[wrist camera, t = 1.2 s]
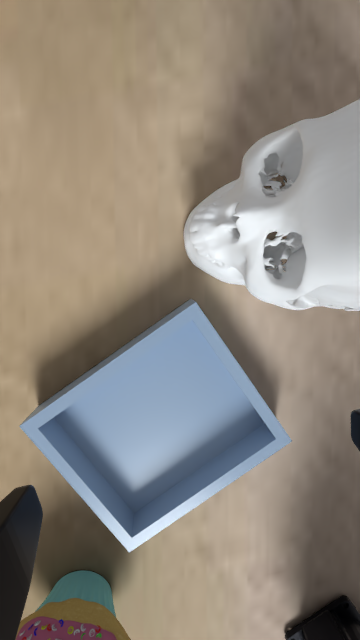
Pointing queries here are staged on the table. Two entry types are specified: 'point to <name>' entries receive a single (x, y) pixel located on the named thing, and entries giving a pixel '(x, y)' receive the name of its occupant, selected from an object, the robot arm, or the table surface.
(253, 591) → the table surface
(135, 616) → the table surface
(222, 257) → the skull bowl
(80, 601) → the cupcake
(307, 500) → the table surface
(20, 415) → the table surface
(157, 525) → the tray
